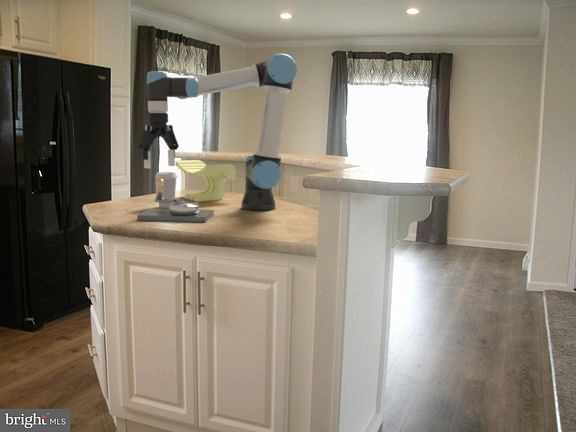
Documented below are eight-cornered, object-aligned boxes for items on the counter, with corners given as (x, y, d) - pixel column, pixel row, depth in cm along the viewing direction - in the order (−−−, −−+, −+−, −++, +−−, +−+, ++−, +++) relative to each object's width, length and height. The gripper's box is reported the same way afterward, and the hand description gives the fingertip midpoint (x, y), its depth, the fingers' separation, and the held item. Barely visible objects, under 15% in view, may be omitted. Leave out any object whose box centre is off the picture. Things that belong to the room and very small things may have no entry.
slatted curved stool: (235, 201, 262) (235, 163, 259) (206, 203, 252) (206, 164, 249) (203, 194, 285) (203, 159, 282) (176, 196, 275) (175, 160, 272)
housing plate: (213, 214, 222) (213, 209, 221) (205, 222, 205) (205, 216, 205) (150, 213, 223) (150, 208, 223) (137, 220, 206) (137, 214, 206)
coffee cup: (172, 209, 234) (171, 174, 232) (151, 208, 236) (150, 173, 233) (181, 206, 243) (180, 172, 241) (161, 205, 245) (160, 171, 243)
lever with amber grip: (204, 212, 215) (204, 181, 213) (185, 215, 206) (185, 183, 204) (166, 207, 225) (166, 177, 223) (147, 210, 215) (146, 180, 213)
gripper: (172, 113, 225) (173, 164, 229) (127, 111, 204) (129, 168, 208) (186, 113, 222) (187, 165, 225) (141, 111, 200) (144, 169, 204)
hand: (159, 167), depth 216 cm, fingers open, 13 cm apart
